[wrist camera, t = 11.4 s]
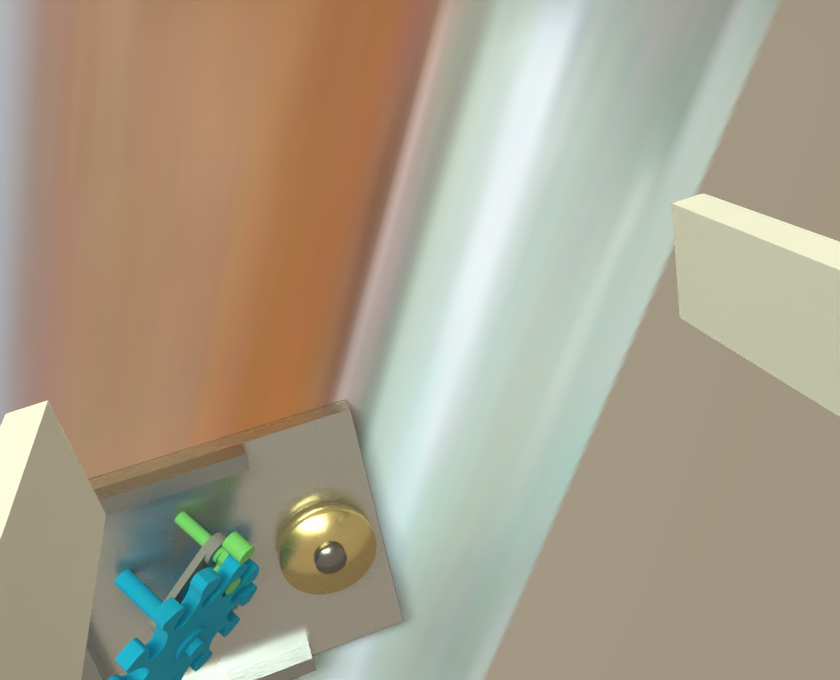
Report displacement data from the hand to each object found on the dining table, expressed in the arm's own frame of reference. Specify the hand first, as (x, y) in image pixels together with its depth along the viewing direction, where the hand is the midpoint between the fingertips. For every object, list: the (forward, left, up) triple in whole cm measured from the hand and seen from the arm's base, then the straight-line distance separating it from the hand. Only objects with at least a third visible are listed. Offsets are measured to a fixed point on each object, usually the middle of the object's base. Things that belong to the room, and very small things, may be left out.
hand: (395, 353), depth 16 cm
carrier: (+8, +22, -24) cm, 34 cm away
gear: (+10, +21, -23) cm, 33 cm away
